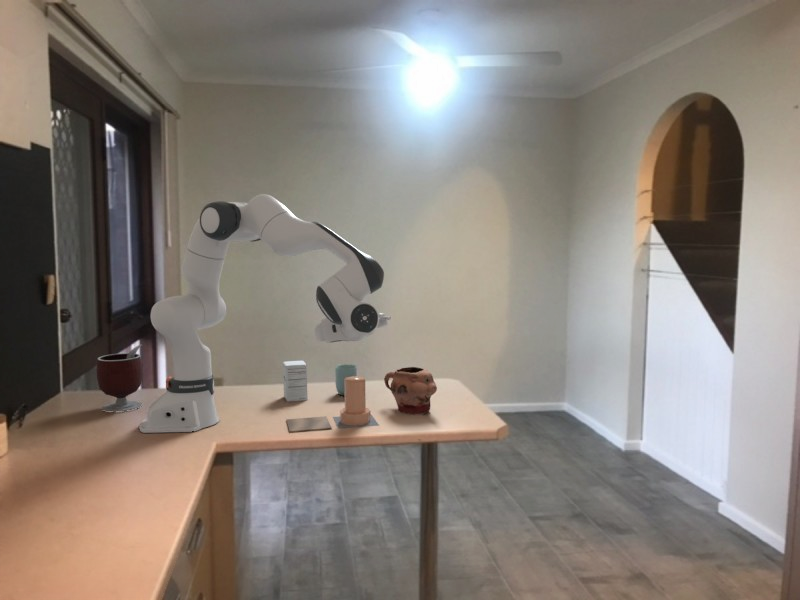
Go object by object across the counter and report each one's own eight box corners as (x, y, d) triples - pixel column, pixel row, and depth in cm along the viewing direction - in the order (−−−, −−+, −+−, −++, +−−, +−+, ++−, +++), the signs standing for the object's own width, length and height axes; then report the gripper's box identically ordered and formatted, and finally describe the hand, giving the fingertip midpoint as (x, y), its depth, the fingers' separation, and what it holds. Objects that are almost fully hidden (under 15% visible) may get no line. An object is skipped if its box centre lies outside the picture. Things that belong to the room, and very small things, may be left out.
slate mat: (338, 430, 182) (338, 428, 182) (332, 418, 194) (332, 417, 194) (379, 427, 185) (379, 425, 185) (371, 416, 197) (371, 414, 196)
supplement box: (283, 396, 221) (282, 361, 220) (304, 395, 223) (303, 359, 222) (286, 402, 214) (285, 365, 213) (308, 400, 216) (307, 364, 215)
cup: (359, 391, 227) (358, 364, 226) (355, 397, 220) (355, 369, 219) (337, 391, 228) (337, 364, 227) (333, 396, 220) (333, 368, 219)
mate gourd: (115, 416, 199) (112, 353, 197) (89, 409, 206) (86, 349, 204) (157, 404, 212) (154, 345, 210) (131, 399, 219) (128, 342, 217)
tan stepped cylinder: (343, 426, 184) (342, 382, 183) (338, 418, 192) (337, 376, 191) (372, 424, 186) (372, 380, 185) (367, 415, 195) (366, 374, 193)
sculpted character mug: (373, 411, 202) (372, 368, 200) (393, 402, 212) (392, 362, 210) (427, 420, 191) (427, 375, 190) (446, 411, 202) (446, 368, 200)
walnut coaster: (289, 434, 179) (289, 431, 179) (286, 422, 190) (286, 419, 190) (331, 431, 182) (331, 427, 181) (326, 419, 193) (326, 416, 193)
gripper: (389, 305, 171) (380, 311, 184) (315, 320, 166) (311, 325, 179) (394, 328, 170) (384, 332, 184) (320, 344, 165) (315, 347, 179)
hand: (347, 329), depth 182 cm, fingers open, 8 cm apart
